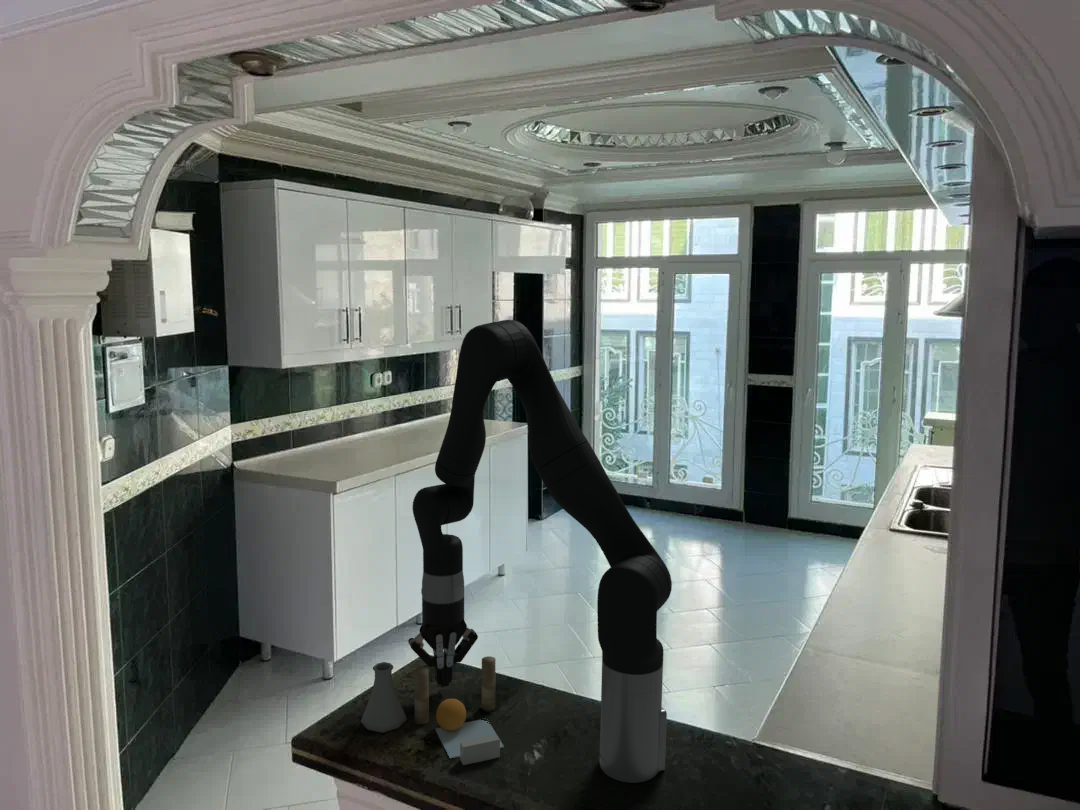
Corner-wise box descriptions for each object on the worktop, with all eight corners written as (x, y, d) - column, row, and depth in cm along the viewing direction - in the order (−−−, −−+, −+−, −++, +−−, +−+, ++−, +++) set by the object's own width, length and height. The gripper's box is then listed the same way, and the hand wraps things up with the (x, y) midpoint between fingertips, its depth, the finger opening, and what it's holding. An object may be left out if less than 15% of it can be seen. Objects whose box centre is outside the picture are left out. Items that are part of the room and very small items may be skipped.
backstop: (496, 751, 126) (496, 734, 125) (499, 757, 124) (499, 739, 124) (460, 759, 124) (460, 741, 123) (463, 765, 122) (463, 747, 122)
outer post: (427, 715, 136) (426, 666, 135) (430, 722, 134) (430, 672, 133) (413, 718, 135) (412, 668, 134) (416, 725, 133) (415, 675, 132)
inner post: (492, 703, 141) (492, 655, 139) (497, 710, 138) (497, 661, 137) (479, 705, 140) (479, 657, 139) (484, 712, 138) (484, 663, 136)
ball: (462, 728, 134) (461, 696, 136) (469, 730, 130) (469, 697, 131) (433, 730, 133) (433, 699, 134) (439, 733, 128) (439, 700, 130)
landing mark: (486, 719, 135) (486, 718, 135) (504, 747, 127) (504, 746, 127) (435, 729, 132) (435, 728, 132) (449, 759, 124) (449, 757, 124)
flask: (382, 738, 129) (381, 681, 128) (353, 723, 134) (351, 667, 132) (414, 720, 135) (413, 664, 134) (385, 706, 139) (384, 652, 138)
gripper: (411, 606, 136) (412, 701, 138) (484, 596, 141) (484, 688, 143) (402, 591, 143) (403, 681, 145) (472, 582, 148) (472, 669, 150)
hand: (443, 684), depth 144 cm, fingers closed
